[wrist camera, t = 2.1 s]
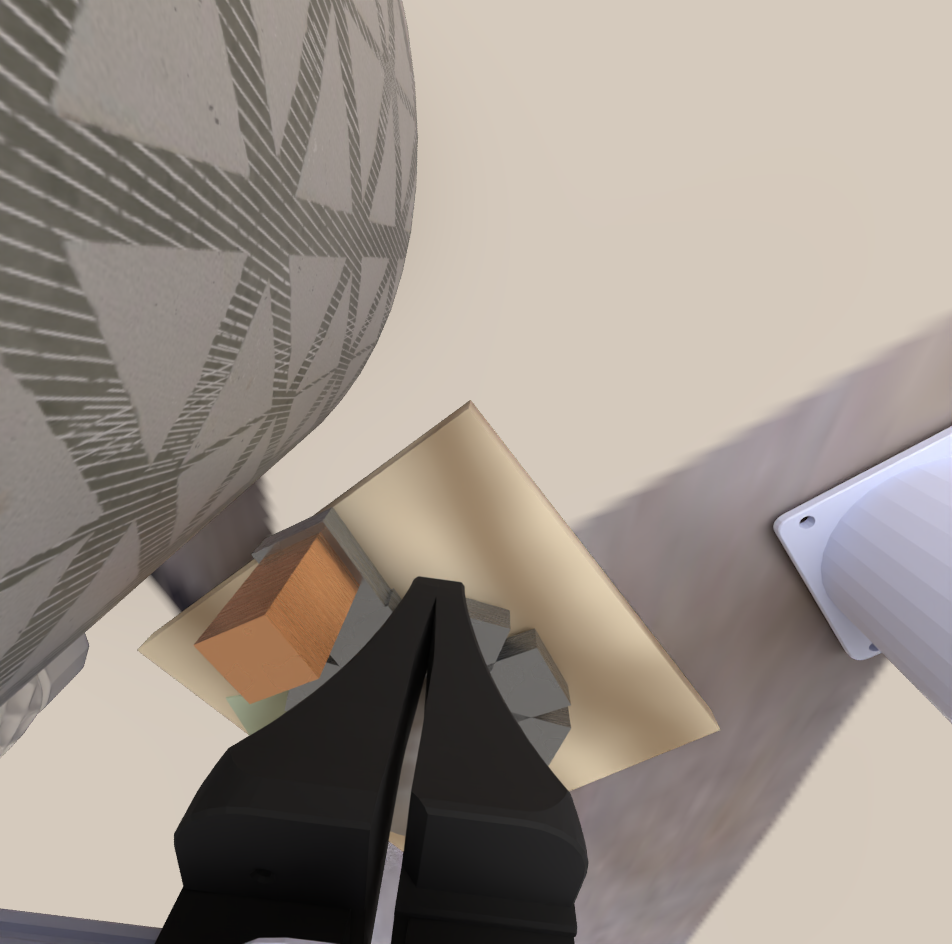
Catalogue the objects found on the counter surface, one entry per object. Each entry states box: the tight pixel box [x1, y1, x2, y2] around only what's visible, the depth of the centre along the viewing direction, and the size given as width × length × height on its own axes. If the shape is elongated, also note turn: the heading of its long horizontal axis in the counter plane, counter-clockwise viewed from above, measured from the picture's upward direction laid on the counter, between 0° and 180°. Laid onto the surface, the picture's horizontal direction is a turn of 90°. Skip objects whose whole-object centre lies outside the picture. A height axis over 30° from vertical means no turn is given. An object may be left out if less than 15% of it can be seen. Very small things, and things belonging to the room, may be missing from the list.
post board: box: [138, 400, 720, 852], centre depth 18 cm, size 18×18×6 cm
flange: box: [193, 507, 571, 766], centre depth 17 cm, size 15×11×5 cm
